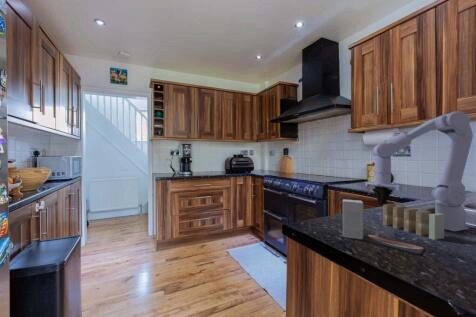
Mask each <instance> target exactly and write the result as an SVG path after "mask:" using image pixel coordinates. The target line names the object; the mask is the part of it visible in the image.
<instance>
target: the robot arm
mask: <svg viewBox="0 0 476 317" xmlns="http://www.w3.org/2000/svg"><path fill="white" fill-rule="evenodd" d="M470 122H471V118H470V116H468V115H467V114H466V113H465V112H463V111H460V110H455V111H452V112H449V113H446V114H444V115H443V114H442V115H439V116H437V117H435V118H432V119H429V120H427V121H425V122H423V123H422V124H420V125H418V126H416V127H415V128H413V129H412V130H409V131H408V132H407V133H405V132H404V133H403V132H400V133H399V132H398V133H394V134H393V137H391V138H389V139H384V140H383V141H382V143H380V144H376V145H375V146H374V148H373V150H372V155H373V156H374V173H373V174H374V177H373V178H374V179H373V180H374V181H365V187H370V188H372V192H373V194H374V195H375V197H376V199H377V202H378V206H379V207H383V205H384V204H387V202H388V200H389V197H390V195H391V193H392V192H393V191H398V192H400V191H401V192H402V191H403V185H401V184H400V185H399V184H394V183H391V182H392V156H393V155H394V153H397V152H399V151H401V150H403V149H404V148H407V147H409V146H410V145H411V144H412V142H413V140H415V139H417V138H418V137H420V136H422V135H424V134H426V133H429V132H431V131H439V132H440V133H443V134H445V135H447V137H449V138H450V139H451V141H450V144H449V145H450V146H449V150H448V153H447V157H446V161H445V166H444V170H443V173H442V176H441V177H442V178H440V179H439V180H438V181H437V183H436V185H435V187H434V188H433V189H432V191H431V196H432V198H433V199H434V201H435V205H434V206H435V208H434V212H435V213H441V214H444V230H447V231H451V232H459V231H460V232H461V231H465V230H469V227H467V226H466V224H467V212H466V209H465V208H464V207H463V204H464V203H465V202H466V199H467V196H466V192H465V191H466V186H465V185H464V184H463V182H462V179H463V176H464V173H465V170H466V169H465V168H466V165H467V160H468V156H469V153H470V150H471V145H472V141H473V138H474V134H473V130H472V128H471V124H470ZM435 213H434V214H435Z"/></svg>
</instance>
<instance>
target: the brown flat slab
mask: <svg viewBox="0 0 476 317" xmlns="http://www.w3.org/2000/svg"><path fill="white" fill-rule="evenodd" d="M361 240H362V242H365V243H366V242H367V243H369V244H370V243H371V244H374V245H378V246H380V247H384V248H388V249H393V250H396V251H399V252H404V253H407V254H411V255H415V256H422V255H423V254H424V252H425V250H426V249H425V247H422V246H419V245H415V244H412V243H411V244H410V243H406V242H404V241H398V240H394V239H390V238H386V237H381V236H377V235H373V234H367V235H365V236H363V239H361Z"/></svg>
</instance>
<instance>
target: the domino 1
mask: <svg viewBox="0 0 476 317" xmlns="http://www.w3.org/2000/svg"><path fill="white" fill-rule="evenodd" d="M395 206H397V205H396V204H394V203H386V204H384V205H383V206H382V225H383V226H389V227H390V226H393V207H395Z"/></svg>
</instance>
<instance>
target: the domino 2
mask: <svg viewBox="0 0 476 317" xmlns="http://www.w3.org/2000/svg"><path fill="white" fill-rule="evenodd" d="M404 209H407V206H405V205H398V206H397V205H396V206H395V207H393V225H392V229H396V230H398V229H404Z"/></svg>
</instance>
